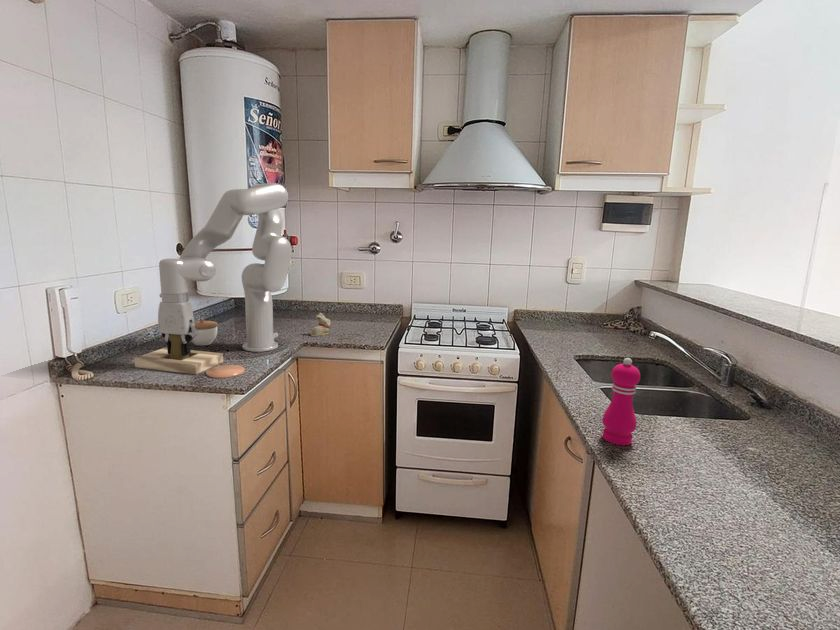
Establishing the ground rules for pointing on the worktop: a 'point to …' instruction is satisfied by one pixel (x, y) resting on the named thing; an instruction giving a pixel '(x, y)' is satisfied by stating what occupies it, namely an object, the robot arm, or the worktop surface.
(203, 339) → the white bowl
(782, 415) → the worktop surface
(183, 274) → the robot arm
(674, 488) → the worktop surface
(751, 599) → the worktop surface
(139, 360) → the wooden tray
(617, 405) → the pepper mill
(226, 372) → the coaster
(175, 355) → the olive waisted cylinder
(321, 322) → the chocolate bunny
